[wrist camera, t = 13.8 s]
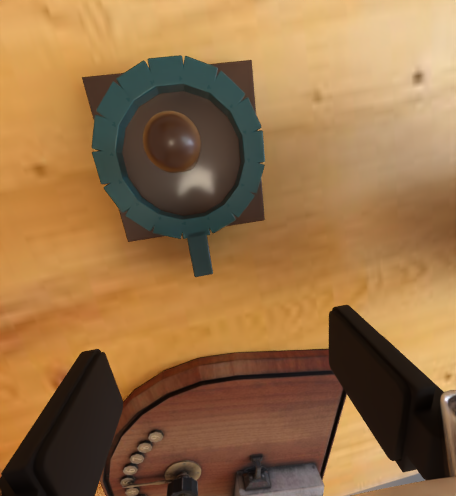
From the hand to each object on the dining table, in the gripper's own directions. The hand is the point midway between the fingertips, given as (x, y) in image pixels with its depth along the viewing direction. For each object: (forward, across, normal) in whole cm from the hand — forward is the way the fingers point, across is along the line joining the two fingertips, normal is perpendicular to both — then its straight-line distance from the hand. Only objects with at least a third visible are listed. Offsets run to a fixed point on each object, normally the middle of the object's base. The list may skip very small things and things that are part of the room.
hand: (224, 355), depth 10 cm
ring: (+12, +1, -7) cm, 14 cm away
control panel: (+14, +3, +28) cm, 31 cm away
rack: (+14, +1, -8) cm, 16 cm away
